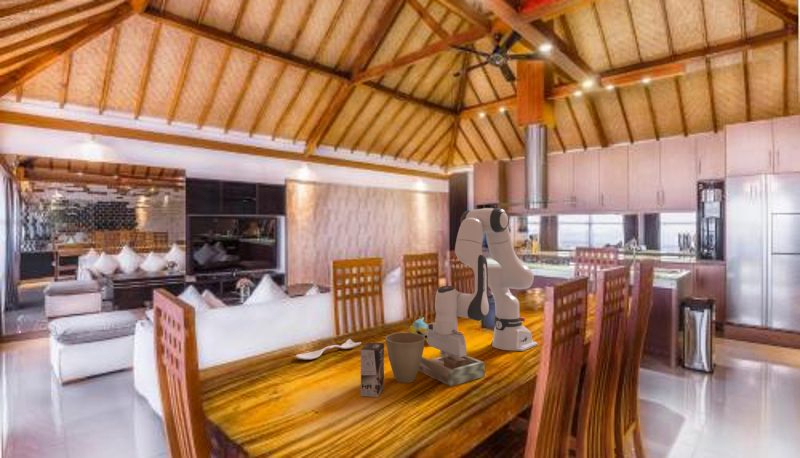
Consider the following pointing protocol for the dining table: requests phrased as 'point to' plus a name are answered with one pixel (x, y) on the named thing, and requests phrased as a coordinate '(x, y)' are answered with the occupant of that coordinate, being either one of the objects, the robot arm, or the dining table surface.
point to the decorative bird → (419, 328)
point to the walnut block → (454, 362)
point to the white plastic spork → (316, 354)
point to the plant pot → (405, 355)
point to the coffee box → (372, 369)
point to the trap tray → (453, 370)
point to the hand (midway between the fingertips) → (446, 362)
